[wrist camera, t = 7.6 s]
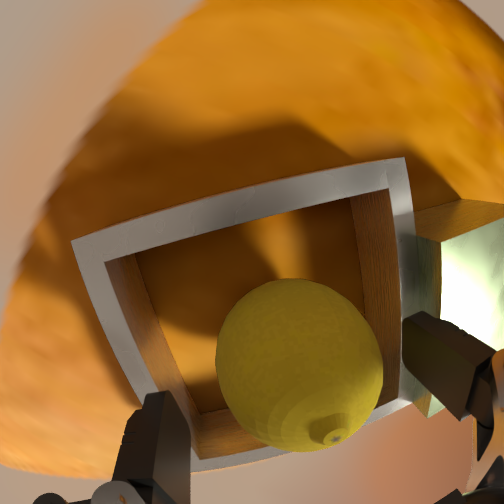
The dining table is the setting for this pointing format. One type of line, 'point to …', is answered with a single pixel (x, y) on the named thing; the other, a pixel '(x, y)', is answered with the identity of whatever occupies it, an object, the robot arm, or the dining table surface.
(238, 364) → the lemon
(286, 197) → the square open box
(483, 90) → the dining table surface
